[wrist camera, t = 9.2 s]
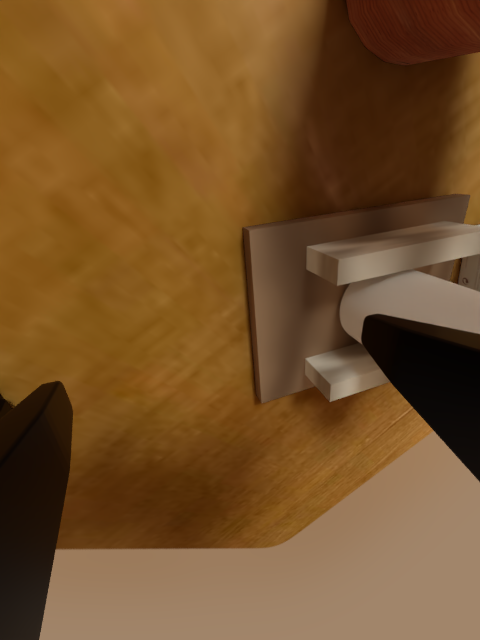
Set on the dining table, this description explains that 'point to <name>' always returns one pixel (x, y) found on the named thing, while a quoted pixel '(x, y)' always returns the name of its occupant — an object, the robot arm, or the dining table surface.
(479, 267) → the supplement box
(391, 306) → the can
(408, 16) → the potted plant
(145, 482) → the dining table surface
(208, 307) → the dining table surface
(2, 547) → the robot arm
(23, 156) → the dining table surface
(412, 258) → the slot block
